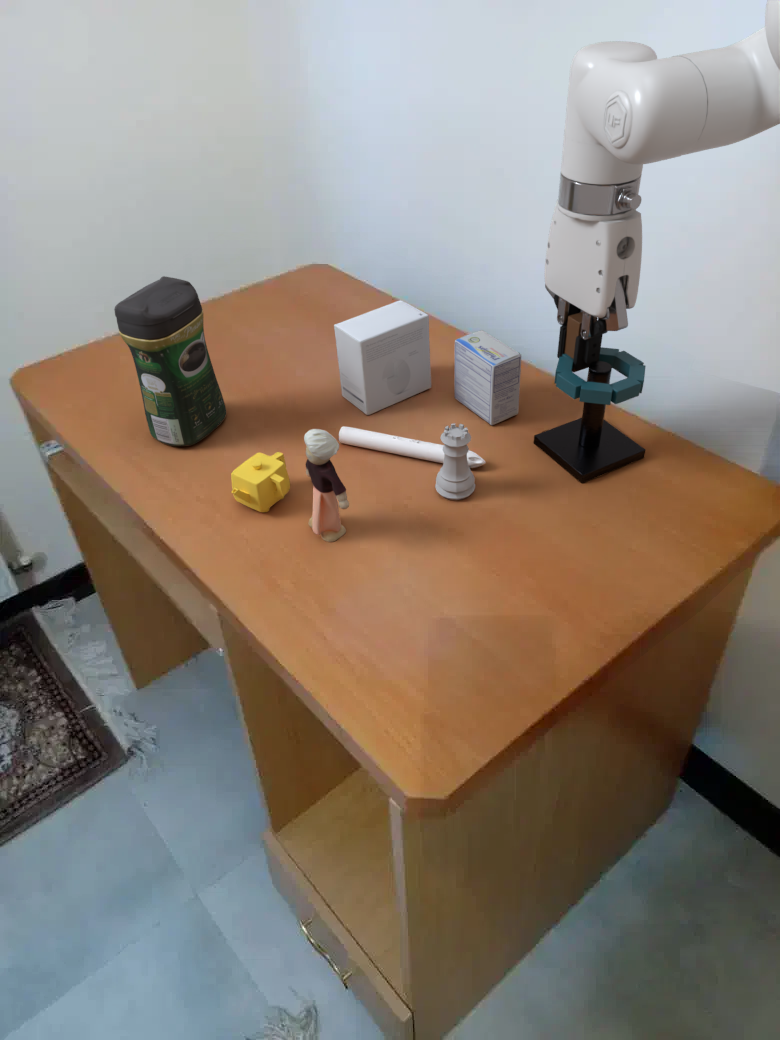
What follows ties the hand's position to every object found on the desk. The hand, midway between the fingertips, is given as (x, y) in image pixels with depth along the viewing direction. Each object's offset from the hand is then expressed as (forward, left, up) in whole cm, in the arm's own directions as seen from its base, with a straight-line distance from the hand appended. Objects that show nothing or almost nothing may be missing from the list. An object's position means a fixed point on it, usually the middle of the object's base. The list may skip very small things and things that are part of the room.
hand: (577, 360), depth 88 cm
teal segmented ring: (-4, 0, -1) cm, 4 cm away
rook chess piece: (-2, +17, -10) cm, 20 cm away
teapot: (+7, +36, -10) cm, 38 cm away
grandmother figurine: (-1, +32, -10) cm, 34 cm away
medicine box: (+10, +5, -10) cm, 15 cm away
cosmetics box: (+20, +14, -10) cm, 27 cm away
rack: (-4, 0, -10) cm, 11 cm away
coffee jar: (+26, +39, -10) cm, 48 cm away
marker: (+6, +18, -10) cm, 22 cm away
